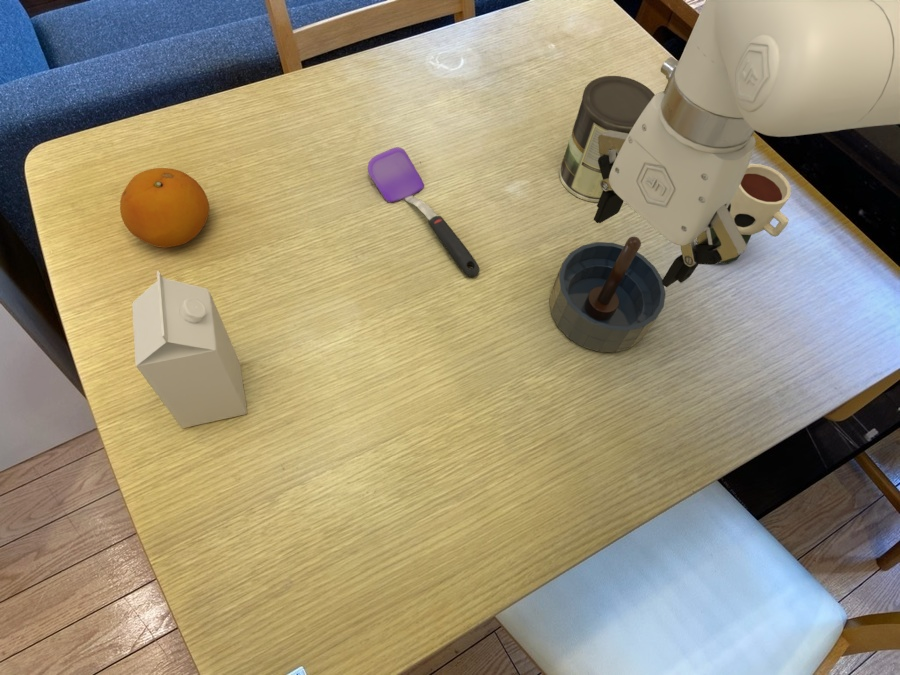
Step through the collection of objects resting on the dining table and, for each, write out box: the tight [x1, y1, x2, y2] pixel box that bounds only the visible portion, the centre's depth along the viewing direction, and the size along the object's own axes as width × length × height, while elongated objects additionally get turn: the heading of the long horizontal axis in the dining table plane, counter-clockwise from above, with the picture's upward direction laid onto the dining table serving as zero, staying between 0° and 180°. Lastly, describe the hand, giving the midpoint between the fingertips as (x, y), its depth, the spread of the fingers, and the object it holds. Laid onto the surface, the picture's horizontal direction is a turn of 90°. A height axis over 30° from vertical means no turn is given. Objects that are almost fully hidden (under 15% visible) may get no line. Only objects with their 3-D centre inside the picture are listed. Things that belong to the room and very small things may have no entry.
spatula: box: [367, 146, 481, 278], centre depth 87 cm, size 24×7×2 cm, turn 34°
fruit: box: [119, 167, 210, 248], centre depth 80 cm, size 10×10×8 cm
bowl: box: [549, 241, 667, 353], centre depth 80 cm, size 13×13×6 cm
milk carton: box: [131, 270, 248, 429], centre depth 64 cm, size 7×7×19 cm
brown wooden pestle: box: [584, 236, 642, 320], centre depth 76 cm, size 4×4×14 cm
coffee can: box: [558, 75, 656, 203], centre depth 89 cm, size 10×10×14 cm
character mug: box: [696, 163, 792, 265], centre depth 84 cm, size 11×7×13 cm, turn 36°
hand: (638, 247), depth 64 cm, fingers open, 9 cm apart
